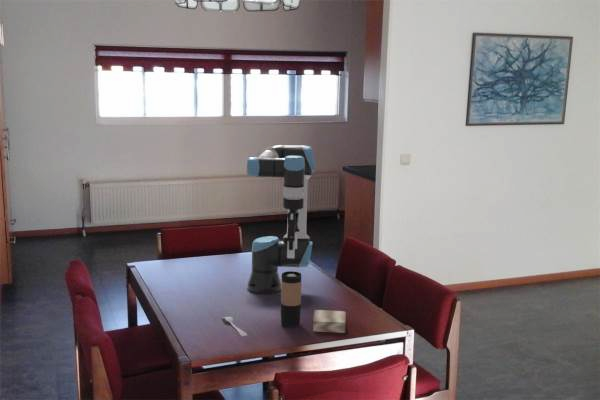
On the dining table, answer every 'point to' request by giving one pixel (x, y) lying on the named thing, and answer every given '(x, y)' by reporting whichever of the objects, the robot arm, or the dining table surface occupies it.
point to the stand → (329, 321)
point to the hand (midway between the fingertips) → (292, 253)
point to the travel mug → (290, 299)
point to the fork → (235, 326)
